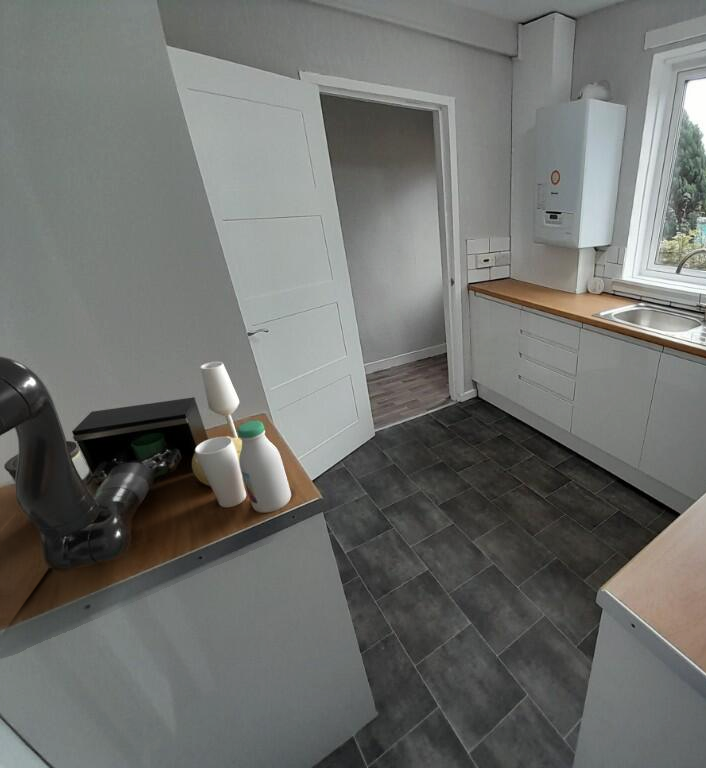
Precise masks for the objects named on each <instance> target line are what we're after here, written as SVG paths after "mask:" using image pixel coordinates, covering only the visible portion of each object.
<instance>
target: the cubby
mask: <svg viewBox="0 0 706 768" xmlns="http://www.w3.org/2000/svg"><path fill="white" fill-rule="evenodd" d="M71 433H72V435H73V436H72V439H73V440H74V442H76V443H77V444H78V446H79V450H80V452H81V454H82V456H83V458H84V460H85V462H86V464H87V466H88V468H89V470H90V472H91V473H92V475H93V473H94V472H95V470H96V468H97V467H98V465H99V464H100V463H101V462H104V461H107V463H108V462H111V460H112V459H114V458H116V456H117V455H118V454H119V453H121V452H122V451H123V450H127V451H128V454H129V459H128V461H127V462H130V461H133V460H137V458H136V455H135V453H134V451H133V448H132V446H131V442H132V441H133V440H135V439H136V438H138V437H141V436H143V435H147V434H152V433H162V434H164V436H165V438H166V441H167V443H170V442H171V443H172V444H174V445H175V448H176V449H179V452H180V454H181V457H183V456H187V455H188V456H189V455H194V454H195V448H196V447H197V446H198V445H199V444H200V443H202V442H204V441H206V440H209V437H208V434H207V431H206V428H205V425H204V422H203V419H202V416H201V413H200V410H199V407H198V403H197V401H196V398H195V396H193V397H186V398H180V399H173V400H165V401H157V402H150V403H144V404H137V405H130V406H122V407H115V408H107V409H100V410H94V411H91V412H90V413H88V415H86V416H85V417H84V418H83V419H82V420H81V422H80V423H79V424H78V425H76V427H74V429H73V430H72V431H71ZM98 487H100V485H98Z"/></svg>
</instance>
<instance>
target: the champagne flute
mask: <svg viewBox="0 0 706 768" xmlns="http://www.w3.org/2000/svg"><path fill="white" fill-rule="evenodd" d="M199 368H200V371H201V378H202V382H203V386H204V391H205V395H206V401H207V404H208V405H207V406H208V408H209V410H210V411H211V412H213V413H215V414H217V415H220V416H222V417H223V416H224V417H225V419H226V421H227V422H226V423H227V425H228V428H229V431H230V434H231V437H232V438H239V435H238V432H237V431H236V427H235V423H234V421H233V418H232V414H233V413H234V412H235V411H236V410H237V409H238V407H239V406H240V399H239V396H238V394H237V391H236V389H235V387H234V385H233V383H232V381H231V378H230V375H229V374H228V371H227V369H226V366H225V365H224V362H223V361H211V362H206V363H203V364H202V365H200V367H199Z"/></svg>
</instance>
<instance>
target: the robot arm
mask: <svg viewBox="0 0 706 768" xmlns="http://www.w3.org/2000/svg"><path fill="white" fill-rule="evenodd" d="M13 429H14V430H15V433H16V437H17V447H18V452H17V454H18V464H17V471H16V478H15V481H14V492H15V493H14V494H15V498H16V501H17V503H18V505H19V506H20V508H21V509H22V511H23V512H24V513H25V515H26V516H27V517H28V519H29V520H30V521H31V523H32V524H34V525H35V527H36V528H37V531H38V533H39V537H40V541H41V547H42V553H43V554H42V555H43V560H44V563H45V565H46V566H47V567H48V568H49V569H52V570H54V571H58V572H69V571H73V570H78V569H81V568H86V567H91V566H95V565H98V564H104V563H107V562H112V561H114V560H116V559H117V560H118V559H119V558H120V557H122V556H123V555H125V554H126V553H127V552H128V551H129V549H130V548H131V545H132V538H133V536H132V522H133V517H134V515H135V513H136V512H137V510H138V508H139V506H140V505H141V504H142V502H144V500H145V498H146V497H147V495H148V493H149V490H150V489H151V487H152V485H153V483H154V480H155V477H156V476H155V474H156V473H158V472H159V471H160V470H162V469H168V471H169V472H173V471H175V470H176V469H177V466H178V465H179V464H180V462H181V460H182V458H183V456H181V454H180V452H179V449H176V448H175V445H174V444H172V443H171V442H170V443H167V445H166V446H165V448H164V451H162V452H160V453H154V454H152V455H150V456H149V457H147V458H144V459H140V460H133V461H130V462H127V461H128V459H129V454H128V451H127V450H123V451H122V452H121V453H119V454H118V455H117V456H116V458H114V459H112V460H111V462H108V463H107V461H104V462H101V463H100V464H99V465H98V467H97V468H96V470H95V472H94V473H93V474H92V477H93V479H94V481H95V483H96V485H100V487H99V488H98V490H97V491H96V493H95V496H94V497H93V496H92V494H91V493H90V491H89V489H88V488H87V486H86V485H85V483H84V482H83V480H82V479H81V477H80V475H79V474H78V472H77V470H76V468H75V466H74V463H73V461H72V458H71V455H70V452H69V449H68V445H67V442H66V441H67V440H66V436H65V433H64V429H63V426H62V423H61V420H60V417H59V414H58V411H57V408H56V404H55V402H54V400H53V397H52V395H51V393H50V391H49V389H48V387H47V385H46V384H45V383H44V381H43V379H41V377H39V375H38V374H37V373H36V372H34V371H33V370H32V369H30V367H28V366H26V365H25V364H23V363H22V362H19V361H17V360H14V359H12V358H9V357H4V356H0V437H1V436H3V435H4V434H6V433H8V432H10V431H12V430H13ZM164 455H165V457H166V458H165V459H163V458H162V456H164ZM153 459H155V460H156V462H155V461H154V460H153Z"/></svg>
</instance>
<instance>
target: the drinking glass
mask: <svg viewBox="0 0 706 768" xmlns="http://www.w3.org/2000/svg"><path fill="white" fill-rule="evenodd" d="M229 437H230V436H228V437H226V436H218V437H217V436H216V437H213V438H208V440H206V441H204V442H202V443H200V444H199V445H198V446H197V447H196V448H195V453H196V456H197V459H198V462H199V465H200V467H201V469H202V471H203V473H204V475H205V477H206V479H207V481H208V483H209V484H210V486H209V487H210V488H211V490H212V492H213V494H214V496H215V498H216V500H217V503H218V505H219V506H220V507H221V508H233V507H236V506H239V505H240V504H241V503H243V502H244V501H245V500H246V498H247V490H246V487H245V482H244V479H243V478H242V474H241V469H240V464H239V459H238V455H237V451H236V448H235V446H234V443H233V441H232V439H231V438H229Z"/></svg>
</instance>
